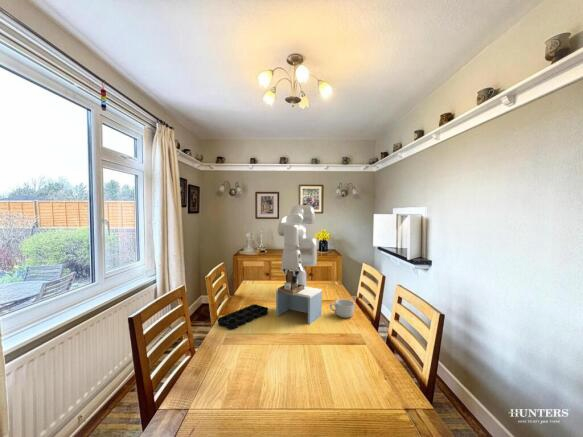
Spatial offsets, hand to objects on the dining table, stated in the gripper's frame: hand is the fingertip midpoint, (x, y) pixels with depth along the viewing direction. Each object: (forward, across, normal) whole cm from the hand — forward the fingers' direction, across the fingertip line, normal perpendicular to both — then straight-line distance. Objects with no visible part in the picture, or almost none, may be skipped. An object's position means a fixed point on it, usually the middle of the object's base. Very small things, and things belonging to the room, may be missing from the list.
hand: (291, 282), depth 138 cm
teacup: (+23, -18, -26) cm, 39 cm away
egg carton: (+23, +26, +7) cm, 36 cm away
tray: (+4, 0, 0) cm, 4 cm away
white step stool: (+23, +3, -13) cm, 27 cm away
